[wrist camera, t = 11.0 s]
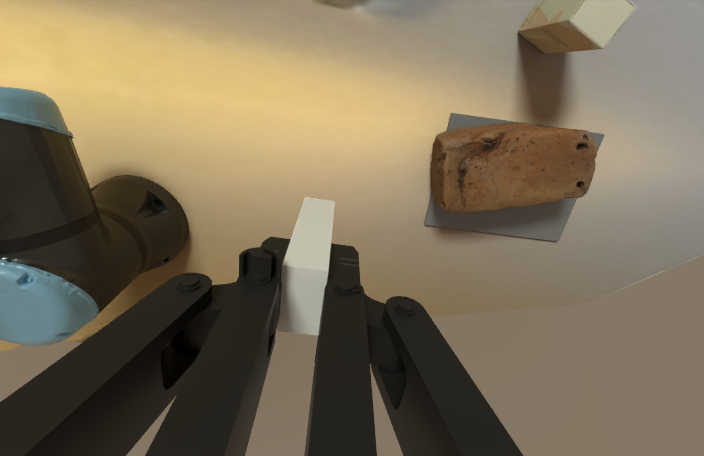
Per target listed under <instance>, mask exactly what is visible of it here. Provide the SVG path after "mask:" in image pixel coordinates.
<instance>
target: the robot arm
mask: <svg viewBox="0 0 704 456" xmlns="http://www.w3.org/2000/svg"><path fill="white" fill-rule="evenodd" d="M73 138H74V137H73V134H72V133H71V132H70V131H68V129H67V126H66V124H65V122H64V119H63V117H62V115H61V112H60V110H59V108H58V106H57V104H56V103H55V102H54V101H53V100H52V99H51V98H50V97H48V96H46V95H45V94H43V93H40V92H37V91H33V90H27V89H19V88H9V87H0V339H1V340H4V341H8V342H11V343H16V344H22V345H34V346H36V345H49V344H54V343H58V342H61V341H63V340H65V339H67V338H69V337H71V336H72V335H73V334H75V333H76V332H77V331H78V330H79V329H81V328H82V327H83V326H84V325H86V324H87V323H89V322H91V321H92V320H94V319H95V318H96V316H97V315H98V314H99V313H100V312H101V311H102V310H103V309H104V308H105V307H106V306H107V305H108V304H109V303H110V302H111V301H112V300H113V299H114V298H115V297H116V296H117V295H118V294H119V293H120V292H122V291H123V290H124V289H125V288H126V287H127V286H128V285H129V284H130V283H131V282H132V281H133V280H134V279H135V278H136V277H137V276H138V275H139V274H141V273H144V272H147V271H149V270H152V269H154V268H157V267H160V266H162V265H164V264H166V263H168V262H169V261H171V260H172V259H173V258H174V257H175V256H176V255H177V254H178V253H179V252H180V251H181V250H182V248H183V247H184V245H185V243H186V240H187V237H188V224H187V219H186V216H185V214H184V211H183V209H182V208H181V206H180V204H179V203H178V202H177V200H176V199H175V198H174V197H173V196H172V195H171V194H170V193H169V192H168V191H167V190H165V189H164V188H163V187H161V186H160V185H158V184H156V183H154V182H152V181H150V180H148V179H145V178H142V177H137V176H130V175H124V176H117V177H113V178H110V179H108V180H105V181H103V182H101V183H99V184H97V185H95V186H94V187H93V188H91V189H90V186H89V183H88V181H87V178H86V175H85V173H84V170H83V167H82V165H81V162H80V159H79V157H78V154H77V151H76V149H75V146H74V143H73V141H72V139H73ZM334 205H335V201H330V200H323V199H316V198H308V197H305V199H304V202H303V205H302V208H301V211H300V214H299V217H298V220H297V223H296V226H295V228H294V231H293V234H292V237H291V239H285V238H277V237H270V238H268V239H267V240H265V241H263V243H262V245H261V247H260V248H259V247H257V248H250V249H247V250H245V251H243V252H242V253H241V254H240V255H239V278H238V279H237V281H236V282H234V283H230V284H222V285H212V280H211V279H210V278H209V277H208V276H206V275H204V274H199V273H185V274H181V275H177V276H175V277H173V278H171V279H170V280H168V281H167V282H165V283H164V284H163V285H161V286H160V287H159V288H157V289H156V290H154V291H153V292H152V293H150V294H149V295H148V296H146V297H145V298H143V299H142V300H141V301H139V302H138V303H137V304H135V305H134V306H132V307H131V308H130V309H128V310H127V311H126V312H124V313H123V314H121V315H120V316H119V317H117V318H116V319H114V320H113V321H112V322H110V323H109V324H108V325H106V326H105V327H103V328H102V329H101V330H99V331H98V332H97V333H95V334H94V335H92V336H91V337H90V338H88V339H87V340H86V341H84V342H83V343H81V344H80V345H79V346H77V347H76V348H75V349H73V350H72V351H70V352H69V353H68V354H66V355H65V356H63V357H62V358H61V359H60V360H58V361H57V362H55V363H54V364H52V365H51V366H50V367H48V368H47V369H46V370H44V371H43V372H42V373H40V374H39V375H37V376H36V377H35V378H33V379H32V380H30V381H29V382H28V383H26V384H25V385H23V386H22V387H21V388H19V389H18V390H17V391H15V392H14V393H13V394H11V395H10V396H8V397H7V398H6V399H4V400H3V401H1V402H0V456H126V455H127V453H128V452H129V451H130V450H131V449H132V448H133V446H134V445H135V444H136V443H137V442H138V440H139V439H140V438H141V437H142V435H144V433H145V432H146V431H147V430H148V429H149V427H150V426H151V425H152V424H153V423H154V421H155V420H156V419H157V418H158V417H159V415H160V414H161V413H162V412H163V411H164V409H165V408H166V407H167V406H168V404H169V403H170V402H171V401H172V400H173V399H174V397H175V396H176V395H177V396H176V398H175V400H174V402H173V404H172V406H171V407H170V409H169V411H168V413H167V415H166V417H165V419H164V421H163V423H162V425H161V426H160V428H159V430H158V432H157V434H156V436H155V438H154V440H153V442H152V444H151V445H150V447H149V450H148V451H147V453H146V455H145V456H245V453H246V449H247V445H248V442H249V438H250V434H251V430H252V426H253V422H254V419H255V415H256V411H257V408H258V404H259V400H260V396H261V392H262V388H263V385H264V381H265V377H266V373H267V369H268V365H269V362H270V358H271V354H272V351H273V347H274V343H275V333H276V327H277V331H282V332H292V333H301V334H311V335H318V342H317V349H316V356H315V367H314V376H313V385H312V394H311V403H310V411H309V421H308V429H307V438H306V447H305V456H377V452H376V438H375V425H374V413H373V400H372V387H371V374H370V364H371V368H372V372H373V375H374V377H375V380H376V383H377V385H378V388H379V391H380V393H381V396H382V399H383V402H384V404H385V407H386V409H387V412H388V415H389V418H390V420H391V423H392V426H393V429H394V431H395V434H396V436H397V439H398V442H399V445H400V447H401V450H402V453H403V455H404V456H523V455H522V453H521V452H520V450H519V449H518V447H517V446H516V444H515V443H514V441H513V440H512V438H511V437H510V435H509V434H508V432H507V431H506V429H505V428H504V426H503V425H502V423H501V422H500V421H499V419H498V417H497V416H496V415H495V413H494V412H493V410H492V408H491V407H490V405H489V404H488V403H487V401H486V400H485V398H484V396H483V395H482V394H481V392H480V391H479V389H478V388H477V386H476V385H475V383H474V382H473V380H472V379H471V377H470V376H469V374H468V373H467V371H466V370H465V368H464V367H463V365H462V364H461V362H460V361H459V359H458V358H457V356H456V355H455V353H454V352H453V350H452V349H451V348H450V346H449V345H448V343H447V341H446V340H445V339H444V337H443V336H442V334H441V333H440V331H439V330H438V328H437V327H436V325H435V324H434V322H433V321H432V319H431V318H430V316H429V315H428V313H427V312H426V310H425V309H424V307H423V306H422V305H421V304H420V303H418V302H417V301H415V300H413V299H411V298H408V297H403V296H395V297H391V298H390V299H388V300H387V301H386V304H384V303H381V302H378V301H376V300H373V299H371V298H370V297H368V296H367V295H366V294H364V289H363V287H362V286H361V285H360V271H359V256H358V252H357V251H356V249H355V248H354V247H353V246H346V245H338V244H331V238H332V227H333V216H334ZM277 324H278V325H277Z"/></svg>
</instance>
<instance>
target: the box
mask: <svg viewBox="0 0 704 456" xmlns="http://www.w3.org/2000/svg"><path fill="white" fill-rule="evenodd" d="M635 10H636V6H635V5H634V4H633V3H632V2H631V1H630V0H539V1H538V3H537V4H536V5H535V7H534V8H533V10H532V11H531V12H530V14H529V15H528V17H527V18H526V20H525V21H524V23H523V24H522V26H521V27H520V29H519V30H518V33H519V34H521V35H522V36H523V37H524V38H526V39H527V40H528V41H529V42H531V43H532V44H533V45H534V46H536V47H537V48H538V49H540V50H541V51H542V52H544V53H545V54H548V53H561V52H572V51H584V50H596V49H604V48H605V46H606V45H607V44H608V43H609V42H610V41H611V39H612V38H613V37H614V36H615V35H616V33H617V32H618V31H619V30H620V29H621V27H622V26H623V25H624V24H625V23H626V21H627V20H628V19H629V18H630V16H631V15H632V14H633V13H634V11H635Z"/></svg>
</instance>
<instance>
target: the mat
mask: <svg viewBox="0 0 704 456" xmlns="http://www.w3.org/2000/svg"><path fill="white" fill-rule="evenodd" d="M503 123H519V122H512V121H505V120H498V119H491V118H484V117H477V116H470V115H462V114H455V113H451V115H450V119H449V123H448V127H447V131H450V130H455V129H460V128H466V127H474V126H482V125H492V124H503ZM531 125H534V124H531ZM535 126H537V127H545V128H551V127H548V126H541V125H535ZM552 128H555V127H552ZM558 129H560V128H558ZM590 134H591V137H592V138H593V139H595V142H596V143H597V148H598V149H599V147H600V144H601V142H602V140H603V137H604V134H598V133H591V132H590ZM598 149H597V151H598ZM576 200H577V198H564V199H562V200H559V201H555V202H549V203H543V204H536V205H530V206H522V207H505V208H502V209H498V210H491V211H480V212H448V211H446V210H444V209H442V208H441V207H439V206H438V204H437V203H436V201H435V199H434V196H433V192H432V194H431V198H430V202H429V206H428V210H427V214H426V219H425V223H424V225H429V226H437V227H445V228H453V229H461V230H469V231H477V232H485V233H494V234H502V235H510V236H518V237H526V238H534V239H542V240H550V241H559V239H560V236H561V234H562V232H563V229H564V227H565V225H566V223H567V220H568V218H569V216H570V213H571V211H572V209H573V206H574V204H575V202H576Z"/></svg>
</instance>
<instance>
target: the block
mask: <svg viewBox="0 0 704 456" xmlns="http://www.w3.org/2000/svg"><path fill="white" fill-rule="evenodd" d="M597 149H598V148H597V143H596V142H595V139H593V138H592V137H591V134H590V132H588V131H584V130H577V129H566V128H560V129H558V128H552V127H551V128H545V127H537V126H535V125H531V124H528V123H503V124H492V125H482V126H474V127H466V128H460V129H455V130H450V131H446V132H443V133H440V134H438V135H437V136H436V138H435V142H434V143H433V150H432V162H431V185H432V192H433V196H434V199H435V201H436V203H437V204H438V206H439V207H441V208H442V209H444V210H446V211H448V212H480V211H491V210H498V209H502V208H505V207H522V206H530V205H536V204H543V203H549V202H555V201H559V200H562V199H564V198H579V197H582V196H584V195H585V194H586V193H587V191H588V189H589V186H590V184H591V181H592V177H593V174H594V171H595V158H596V156H597Z"/></svg>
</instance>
